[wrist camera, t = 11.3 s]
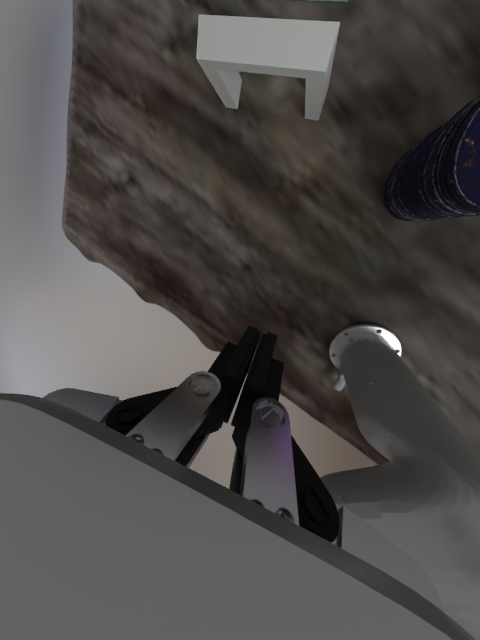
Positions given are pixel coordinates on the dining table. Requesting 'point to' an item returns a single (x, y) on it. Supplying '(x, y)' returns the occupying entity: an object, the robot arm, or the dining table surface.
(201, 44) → the bridge
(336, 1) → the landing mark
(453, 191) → the storage jar
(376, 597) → the robot arm
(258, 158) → the dining table surface
